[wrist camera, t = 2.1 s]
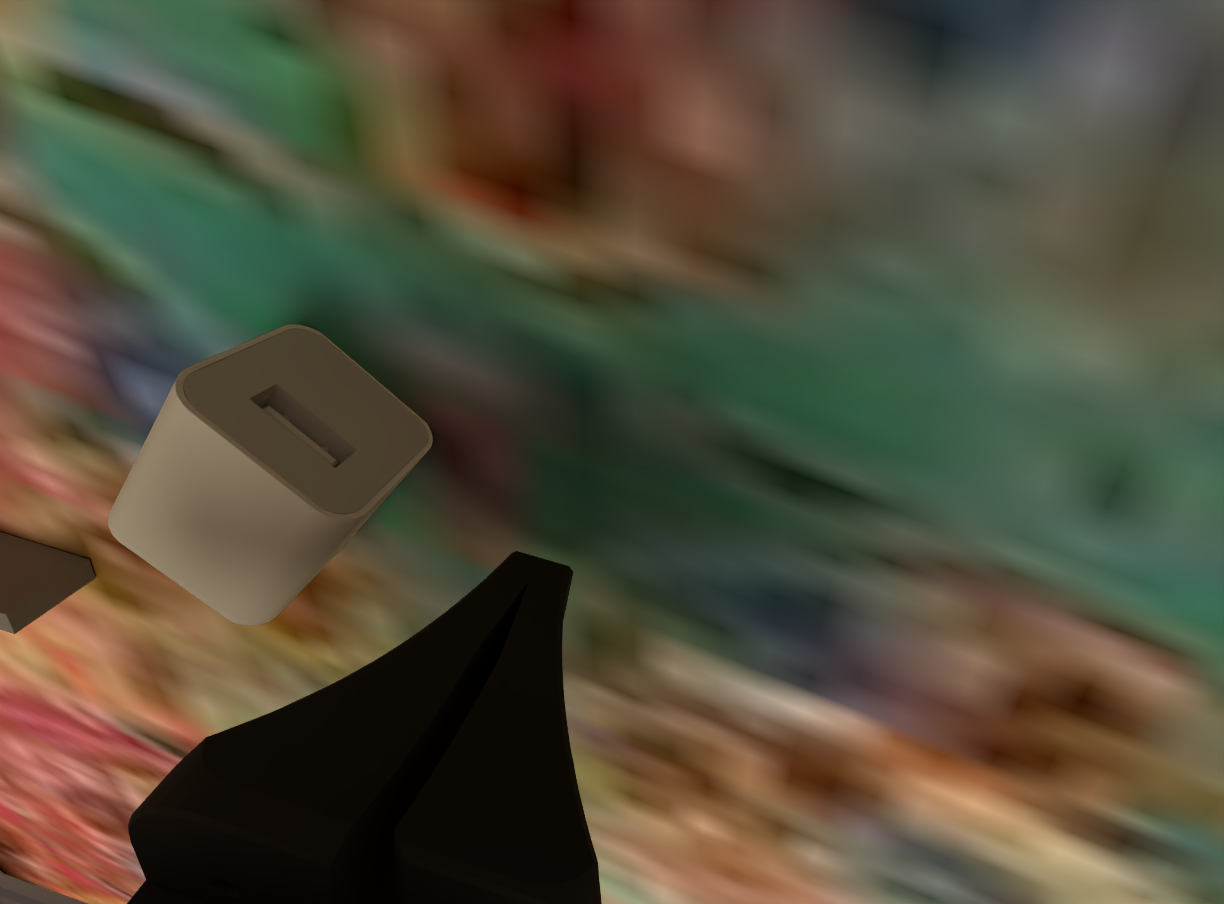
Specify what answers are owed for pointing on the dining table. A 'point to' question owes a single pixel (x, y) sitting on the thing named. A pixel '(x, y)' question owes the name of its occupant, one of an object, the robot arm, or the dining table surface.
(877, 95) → the dining table surface
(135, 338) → the dining table surface
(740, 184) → the dining table surface
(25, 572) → the charging bay
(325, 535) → the usb wall charger
